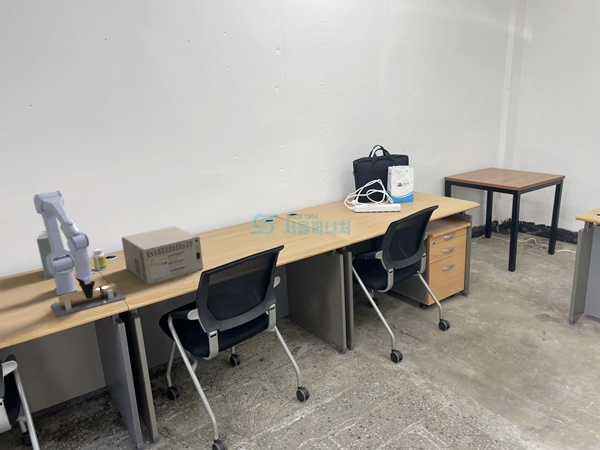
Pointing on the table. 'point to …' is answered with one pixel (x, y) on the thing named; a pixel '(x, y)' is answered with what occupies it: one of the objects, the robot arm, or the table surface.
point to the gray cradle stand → (87, 303)
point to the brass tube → (81, 298)
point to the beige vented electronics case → (162, 254)
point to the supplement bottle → (99, 260)
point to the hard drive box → (44, 252)
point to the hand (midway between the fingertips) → (87, 295)
